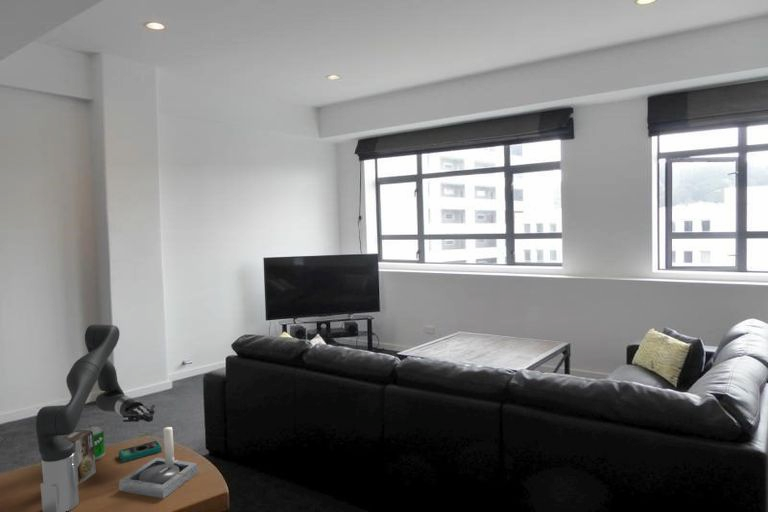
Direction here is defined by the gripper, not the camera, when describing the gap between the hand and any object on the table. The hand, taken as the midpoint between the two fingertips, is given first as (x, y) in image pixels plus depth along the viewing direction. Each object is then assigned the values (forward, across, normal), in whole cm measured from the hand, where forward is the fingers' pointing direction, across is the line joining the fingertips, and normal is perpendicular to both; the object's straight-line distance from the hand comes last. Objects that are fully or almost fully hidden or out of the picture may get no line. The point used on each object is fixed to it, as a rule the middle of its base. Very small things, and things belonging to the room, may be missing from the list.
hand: (150, 418), depth 200 cm
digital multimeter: (-12, +1, +18) cm, 22 cm away
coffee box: (-10, -22, +18) cm, 30 cm away
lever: (+15, -5, +17) cm, 23 cm away
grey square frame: (+15, -5, +17) cm, 23 cm away
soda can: (-23, -12, +18) cm, 31 cm away
